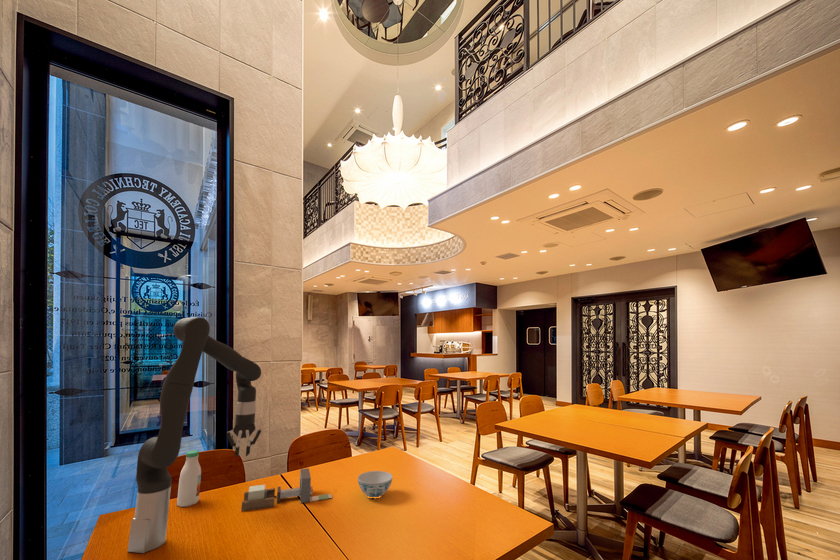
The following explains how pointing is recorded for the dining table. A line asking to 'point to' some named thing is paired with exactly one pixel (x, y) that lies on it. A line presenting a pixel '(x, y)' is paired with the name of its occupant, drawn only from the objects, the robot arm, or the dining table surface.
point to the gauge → (269, 502)
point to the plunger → (289, 493)
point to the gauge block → (257, 492)
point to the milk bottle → (189, 480)
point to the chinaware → (375, 482)
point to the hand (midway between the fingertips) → (242, 455)
